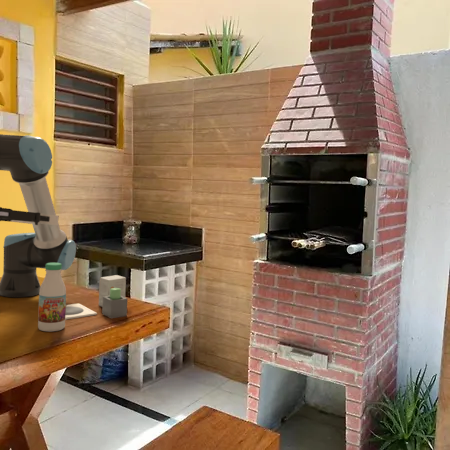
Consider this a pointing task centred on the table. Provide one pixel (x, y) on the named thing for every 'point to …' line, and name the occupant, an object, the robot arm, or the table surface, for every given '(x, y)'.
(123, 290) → the small box
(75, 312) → the white square plate
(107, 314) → the button box
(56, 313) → the milk bottle
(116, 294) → the button
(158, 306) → the table surface
